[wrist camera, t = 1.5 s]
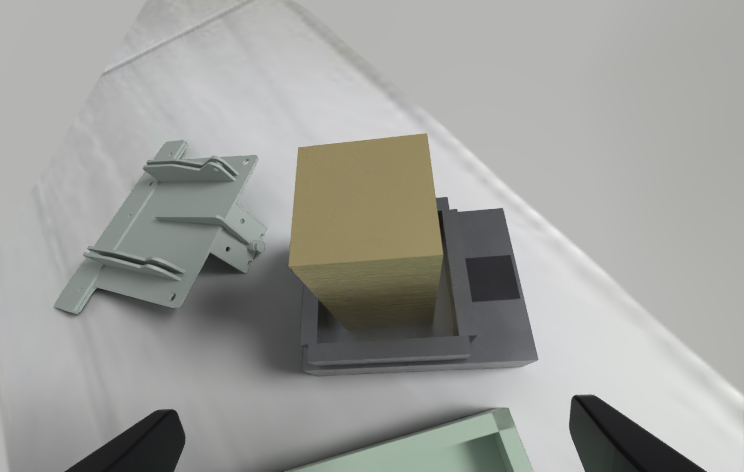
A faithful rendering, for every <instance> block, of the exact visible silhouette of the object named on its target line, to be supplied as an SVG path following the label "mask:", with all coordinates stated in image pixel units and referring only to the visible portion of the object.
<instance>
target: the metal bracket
mask: <svg viewBox="0 0 744 472" xmlns="http://www.w3.org/2000/svg"><path fill="white" fill-rule="evenodd" d="M187 146H188V143H187V142H185V141H184V140H181V141H171V142H166V143H165V144H164V145H163V147H162V148H161V150H160V151H159V152H158V154H157V155H156V157H155V158H154V160H148V161H147V165H145V166H144V167H143V169H144V170H145V173H144V174H143V176H142V177H141V179H140V180H139V182H138V183H137V185H136V186H135V187H134V189H133V190H132V192H131V193H130V195H129V196H128V198H127V199H126V201H125V202H124V204H123V205H122V206H121V208H120V209H119V211H118V212H117V214H116V215H115V217H114V218H113V220H112V221H111V222H110V224H109V225H108V227H107V228H106V230H105V231H104V233H103V234H102V236H101V237H100V239H99V240H98V241H97V243H96V244H95V246H94V247H92V246H89V247H88V248H87V249H88V250H90V251H91V252H90V253H85V252H84V254H83V256H85V257H87V258H86V259H85V260H84V262H83V263H82V264H81V266H80V267H79V268H78V270H77V272H76V273H75V274H74V276H73V277H72V278H71V280H70V281H69V283H68V284H67V286H66V287H65V289H64V290H63V291H62V293H61V294H60V296H59V298H58V300H57V301H56V303H55V307H56V308H59V309H62V310H65V311H67V312H70V313H73V314H78V313H79V312H80V311H81V310H82V309H83V307H84V305H85V304H86V302H87V301H88V299H89V298H90V296H91V295H92V293H93V292H94V291H95V290H96V289H97V288H100V289H104V290H108V291H111V292H115V293H119V294H122V295H126V296H130V297H133V298H137V299H141V300H144V301H148V302H152V303H155V304H159V305H163V306H166V307H170V308H174V309H178V308H180V307H181V305H182V304H183V302H184V300H185V299H186V297H187V295H188V293H189V291H190V289H191V287H192V285H193V283H194V281H195V280H196V278H197V276H198V274H199V272H200V270H201V268H202V266H203V264H204V263H205V261H206V259H207V257H208V255H209V253H211V254H213V255H214V256H216V257H218V258H219V259H221V260H223V261H224V262H226V263H228V264H229V265H231V266H233V267H234V268H236V269H238V270H240V271H241V272H243V273H245V274H247V271H248V269H249V267H250V266H249V265H248V261H251V262H252V261H253V258H254V256H255V254H256V252H260V253H261V252H263V251H264V250H265V243H264V242H263V241H262V239H261V238H260V236H261V234H262V235H265V233H266V230H267V228H266V227H265V226H264V225H263V224H261V223H260V222H259V221H258V220H256V219H255V218H254V217H253V216H251V215H250V214H249V213H248V212H247V211H245V210H244V209H243V208H242V207H240V206H239V205H238V204H237V203H236V202H237V200H238V198H239V196H240V195H241V193H242V191H243V189H244V187H245V185H246V183H247V181H248V179H249V178H250V176H251V174H252V172H253V170H254V168H255V166H256V164H257V162H258V160H259V158H258V156H256V155H250V156H233V157H217V156H212V157H211V158H200V159H184V160H182V159H180V157H181V156H182V154H183V153H184V151H185V149H186V148H187ZM247 161H249V162H248V163H247V164H246V165H245V163H246V162H247ZM241 219H242V220H243V222H242V224H241V223H240V220H241ZM227 247H228V248H229V250H228V251H226V248H227ZM175 294H176V296H175V298H174V300H173V301H171V299H172V297H173V295H175Z"/></svg>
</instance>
